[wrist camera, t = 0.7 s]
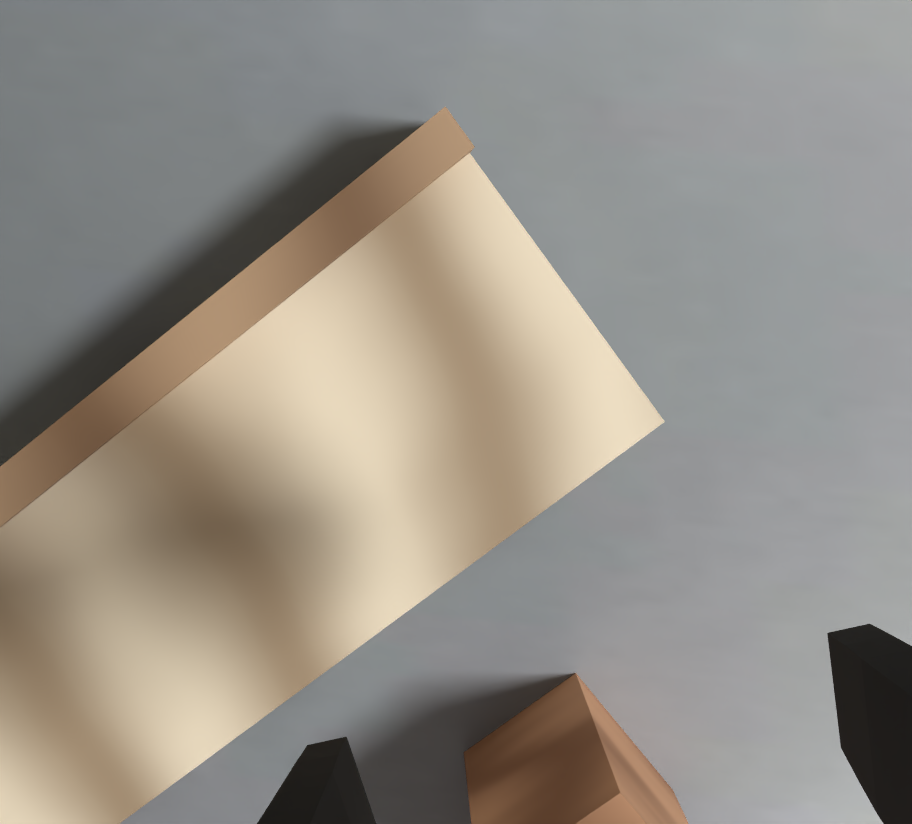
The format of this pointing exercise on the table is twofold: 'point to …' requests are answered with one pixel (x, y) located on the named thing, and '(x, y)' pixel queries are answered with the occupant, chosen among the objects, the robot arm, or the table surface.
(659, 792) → the brown wooden block
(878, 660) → the robot arm
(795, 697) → the table surface
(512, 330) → the board
